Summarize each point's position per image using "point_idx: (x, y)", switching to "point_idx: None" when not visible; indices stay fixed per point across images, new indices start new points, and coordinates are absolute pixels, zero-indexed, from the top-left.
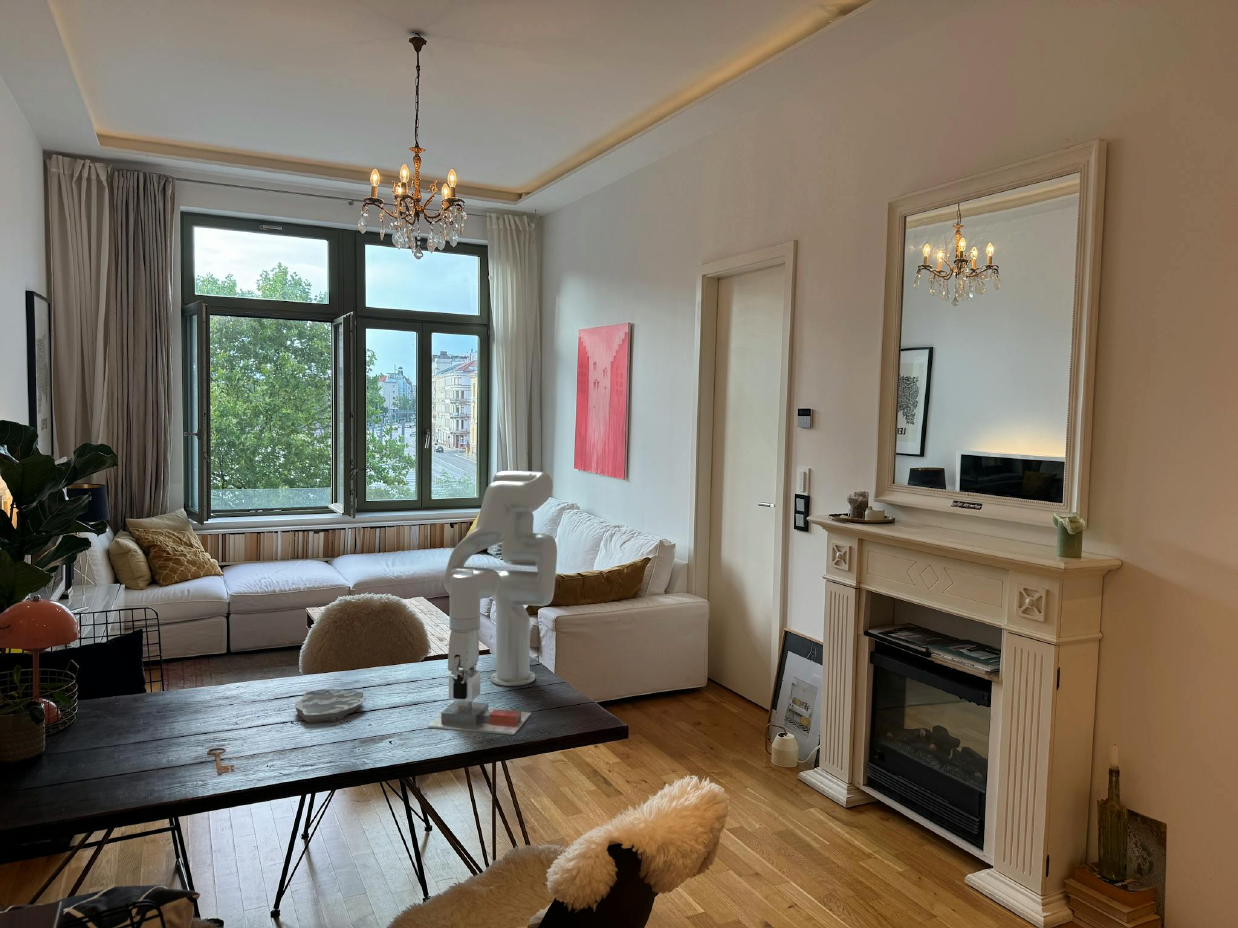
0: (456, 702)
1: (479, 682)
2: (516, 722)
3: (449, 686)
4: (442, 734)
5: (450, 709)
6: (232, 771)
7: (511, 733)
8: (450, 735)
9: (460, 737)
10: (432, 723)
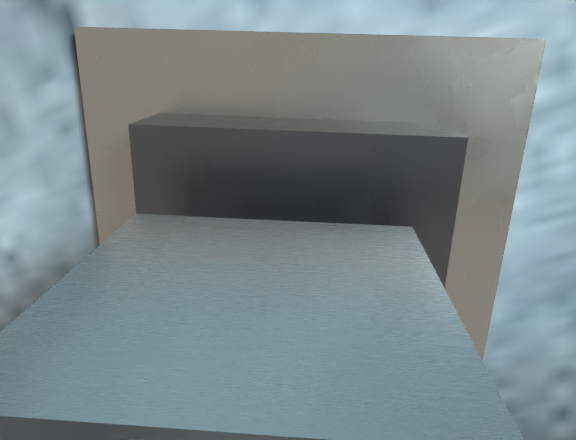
0: (416, 170)
1: None
2: None
3: (59, 293)
4: (9, 181)
5: (226, 177)
6: None
7: None
8: (14, 235)
9: (9, 300)
10: (127, 48)
